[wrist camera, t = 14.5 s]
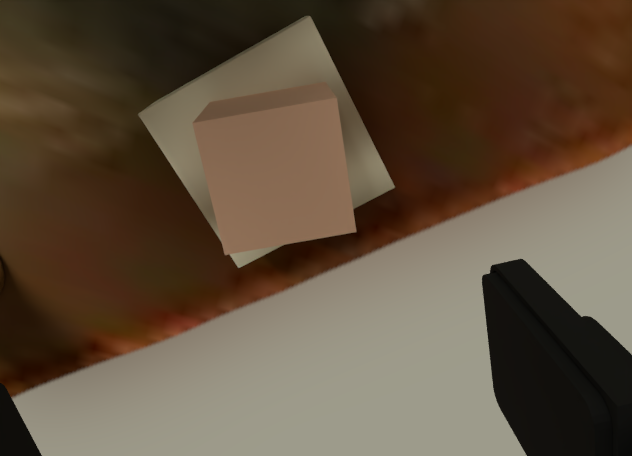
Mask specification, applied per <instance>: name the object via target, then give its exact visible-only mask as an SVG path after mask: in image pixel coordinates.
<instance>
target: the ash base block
mask: <svg viewBox="0 0 632 456" xmlns="http://www.w3.org/2000/svg"><path fill="white" fill-rule="evenodd" d="M321 82H326V83H327V85H328V86H329V87H330V89H331V90H332V92H333V93H334V94H335V96H336V97H337V102H338V109H339V116H340V123H341V130H342V136H343V143H344V150H345V157H346V164H347V171H348V177H349V184H350V191H351V198H352V205H353V209H354V208H356V207H358V206H360V205H362V204H364V203H366V202H368V201H370V200H372V199H374V198H376V197H378V196H380V195H381V194H383V193H385V192H387V191H389V190H391V189H393V188H395V186H394V184H393V182H392V180H391V178H390V176H389V174H388V172H387V170H386V168H385V166H384V164H383V162H382V160H381V158H380V156H379V154H378V152H377V150H376V148H375V146H374V144H373V142H372V140H371V138H370V136H369V134H368V132H367V130H366V128H365V126H364V123H363V121H362V119H361V117H360V115H359V113H358V111H357V109H356V107H355V105H354V103H353V101H352V99H351V97H350V95H349V93H348V91H347V89H346V87H345V85H344V83H343V81H342V79H341V77H340V75H339V73H338V71H337V69H336V67H335V65H334V63H333V61H332V59H331V57H330V55H329V53H328V51H327V49H326V47H325V45H324V43H323V41H322V39H321V37H320V35H319V32H318V30H317V28H316V26H315V24H314V22H313V20H312V18H311V16H305V17H303V18H301V19H299V20H298V21H296V22H294V23H292V24H291V25H289V26H287V27H285V28H284V29H282V30H280V31H278V32H277V33H275V34H273V35H271V36H270V37H268V38H266V39H264V40H262V41H261V42H259V43H257V44H255V45H254V46H252V47H250V48H248V49H247V50H245V51H243V52H241V53H240V54H238V55H236V56H234V57H233V58H231V59H229V60H227V61H226V62H224V63H222V64H220V65H218V66H217V67H215V68H213V69H211V70H210V71H208V72H206V73H204V74H203V75H201V76H199V77H197V78H196V79H194V80H192V81H190V82H189V83H187V84H185V85H183V86H182V87H180V88H178V89H176V90H175V91H173V92H171V93H169V94H167V95H166V96H164V97H162V98H160V99H159V100H157V101H155V102H154V103H153V104H151V105H150V106H148V107H147V108H146V109H144V110H143V111H141V112H140V113H139V114H138V115H139V117H140V118H141V120H142V121H143V123H144V124H145V126H146V127H147V129H148V130H149V132H150V134H151V135H152V137H153V138H154V140H155V141H156V143H157V144H158V146H159V147H160V149H161V150H162V152H163V153H164V155H165V156H166V158H167V160H168V161H169V163H170V164H171V166H172V167H173V169H174V170H175V172H176V173H177V175H178V176H179V178H180V179H181V181H182V182H183V184H184V186H185V187H186V189H187V190H188V192H189V193H190V195H191V196H192V198H193V199H194V201H195V202H196V204H197V205H198V207H199V208H200V210H201V212H202V213H203V215H204V216H205V218H206V219H207V221H208V222H209V224H210V225H211V227H212V228H213V230H214V231H215V233H216V234H217V236H218V237H219V239H220V241H221V238H220V234H219V229H218V225H217V221H216V217H215V213H214V209H213V205H212V201H211V197H210V193H209V189H208V185H207V181H206V177H205V173H204V169H203V164H202V160H201V156H200V152H199V148H198V144H197V140H196V136H195V132H194V128H193V124H192V123H193V122H194V120H195V119H196V118H197V117H198V116H199V114H200V113H201V112H202V111H203V110H204V108H205V107H206V106H207V105H208V104H209V102H212V101H218V100H224V99H230V98H235V97H241V96H247V95H252V94H258V93H264V92H269V91H275V90H281V89H287V88H292V87H298V86H304V85H309V84H315V83H321ZM281 246H283V245H279V246H273V247H268V248H262V249H256V250H251V251H245V252H239V253H233V254H230V256H231V257H232V259H233V260H234V262H235V263H236V265H237V267H238V268H240V267H242V266H244V265H246V264H248V263H250V262H252V261H254V260H256V259H257V258H259V257H261V256H263V255H265V254H267V253H269V252H271V251H273V250H275V249H277V248H279V247H281Z"/></svg>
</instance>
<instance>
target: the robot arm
mask: <svg viewBox="0 0 632 456" xmlns="http://www.w3.org/2000/svg"><path fill="white" fill-rule="evenodd" d="M482 286H483V294H484V304H485V314H486V323H487V332H488V342H489V351H490V360H491V370H492V379H493V388H494V393H495V397H496V399H497V403H498V405H499V407H500V409H501V411H502V413H503V414H504V416H505V418H506V420H507V421H508V423H509V425H510V427H511V428H512V430H513V432H514V434H515V435H516V437H517V439H518V441H519V443H520V444H521V446H522V448H523V450H524V451H525V453H526V455H527V456H632V355H631V354H630V353H629V352H628V351H627V350H626V349H625V348H624V347H623V346H622V345H621V344H620V343H619V342H618V341H617V340H616V339H615V338H614V337H613V336H611V334H610V333H609V332H608V331H606V330H605V329H604V328H603V327H602V326H601V325H600V324H599V323H598V322H597V321H596V320H594V319H593V318H592V317H588V316H583V317H581V316H580V315H579V314H578V313H577V312H576V311H575V310H574V309H573V308H572V307H571V306H570V305H569V304H568V303H567V302H566V301H565V300H564V299H563V298H562V297H561V296H560V295H559V294H558V293H557V292H556V291H555V290H554V289H553V288H552V287H551V286H550V285H549V284H547V282H546V281H545V280H544V279H543V278H542V277H541V276H539V274H538V273H537V272H536V271H535V270H534V269H533V268H532V267H531V266H530V265H529V264H528V263H527V262H526V261H524V260H523V259H518V260H513V261H509V262H504V263H500V264H496V265H492V266H491V270H490V274H486V275H483V277H482ZM0 456H42V455H41V453H40V452H39V450H38V448H37V446H36V444H35V442H34V440H33V439H32V437H31V435H30V433H29V431H28V429H27V427H26V425H25V423H24V421H23V419H22V418H21V416H20V414H19V412H18V410H17V408H16V406H15V404H14V402H13V400H12V399H11V397H10V395H9V393H8V391H7V389H6V388H5V386H4V385H3V384H1V383H0Z"/></svg>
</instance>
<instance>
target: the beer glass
mask: <svg viewBox="0 0 632 456" xmlns="http://www.w3.org/2000/svg"><path fill="white" fill-rule="evenodd" d="M3 285H4V269H3V265H2V263H1V260H0V293H1V290H2V288H3Z"/></svg>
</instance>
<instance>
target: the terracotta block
mask: <svg viewBox="0 0 632 456" xmlns="http://www.w3.org/2000/svg"><path fill="white" fill-rule="evenodd" d="M192 124H193V128H194V132H195V136H196V140H197V144H198V148H199V152H200V156H201V160H202V164H203V169H204V173H205V177H206V181H207V185H208V189H209V193H210V197H211V201H212V205H213V209H214V213H215V217H216V221H217V225H218V229H219V234H220V238H221V242H222V246H223V250H224V254H225V255H228V254H233V253H239V252H245V251H251V250H256V249H262V248H268V247H273V246H279V245H285V244H291V243H296V242H302V241H308V240H314V239H319V238H325V237H331V236H336V235H342V234H348V233H354V232H356V225H355V219H354V212H353V205H352V198H351V191H350V184H349V177H348V171H347V164H346V157H345V150H344V143H343V136H342V130H341V123H340V116H339V109H338V102H337V97H336V96H335V94H334V93H333V92H332V90H331V89H330V87H329V86H328V85H327V83H326V82H321V83H315V84H309V85H304V86H298V87H292V88H287V89H281V90H275V91H269V92H264V93H258V94H252V95H247V96H241V97H235V98H230V99H224V100H218V101H212V102H209V104H208V105H207V106H206V107H205V108H204V110H203V111H202V112H201V113H200V114H199V116H198V117H197V118H196V119H195V120H194V122H193V123H192Z"/></svg>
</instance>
